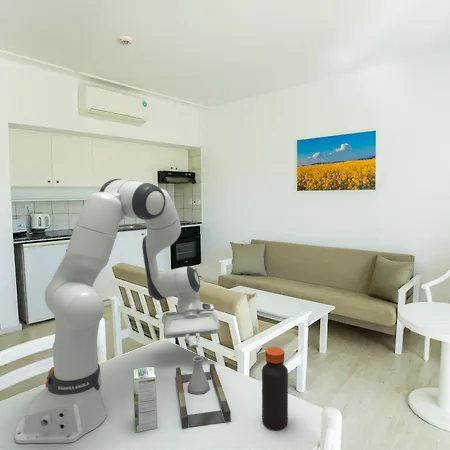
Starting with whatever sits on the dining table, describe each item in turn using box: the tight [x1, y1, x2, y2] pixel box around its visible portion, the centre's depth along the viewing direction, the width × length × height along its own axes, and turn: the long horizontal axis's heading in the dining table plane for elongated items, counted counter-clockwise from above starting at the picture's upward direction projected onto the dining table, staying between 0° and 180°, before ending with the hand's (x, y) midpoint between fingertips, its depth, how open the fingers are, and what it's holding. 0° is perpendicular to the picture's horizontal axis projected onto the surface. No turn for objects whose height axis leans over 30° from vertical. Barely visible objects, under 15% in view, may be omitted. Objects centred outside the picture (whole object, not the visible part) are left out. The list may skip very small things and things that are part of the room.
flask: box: [187, 355, 211, 395], centre depth 112 cm, size 7×7×10 cm
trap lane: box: [175, 363, 232, 429], centre depth 107 cm, size 13×27×3 cm, turn 11°
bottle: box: [261, 346, 289, 431], centre depth 94 cm, size 7×7×20 cm
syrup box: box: [133, 366, 158, 433], centre depth 95 cm, size 6×6×14 cm
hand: (193, 347), depth 123 cm, fingers closed
